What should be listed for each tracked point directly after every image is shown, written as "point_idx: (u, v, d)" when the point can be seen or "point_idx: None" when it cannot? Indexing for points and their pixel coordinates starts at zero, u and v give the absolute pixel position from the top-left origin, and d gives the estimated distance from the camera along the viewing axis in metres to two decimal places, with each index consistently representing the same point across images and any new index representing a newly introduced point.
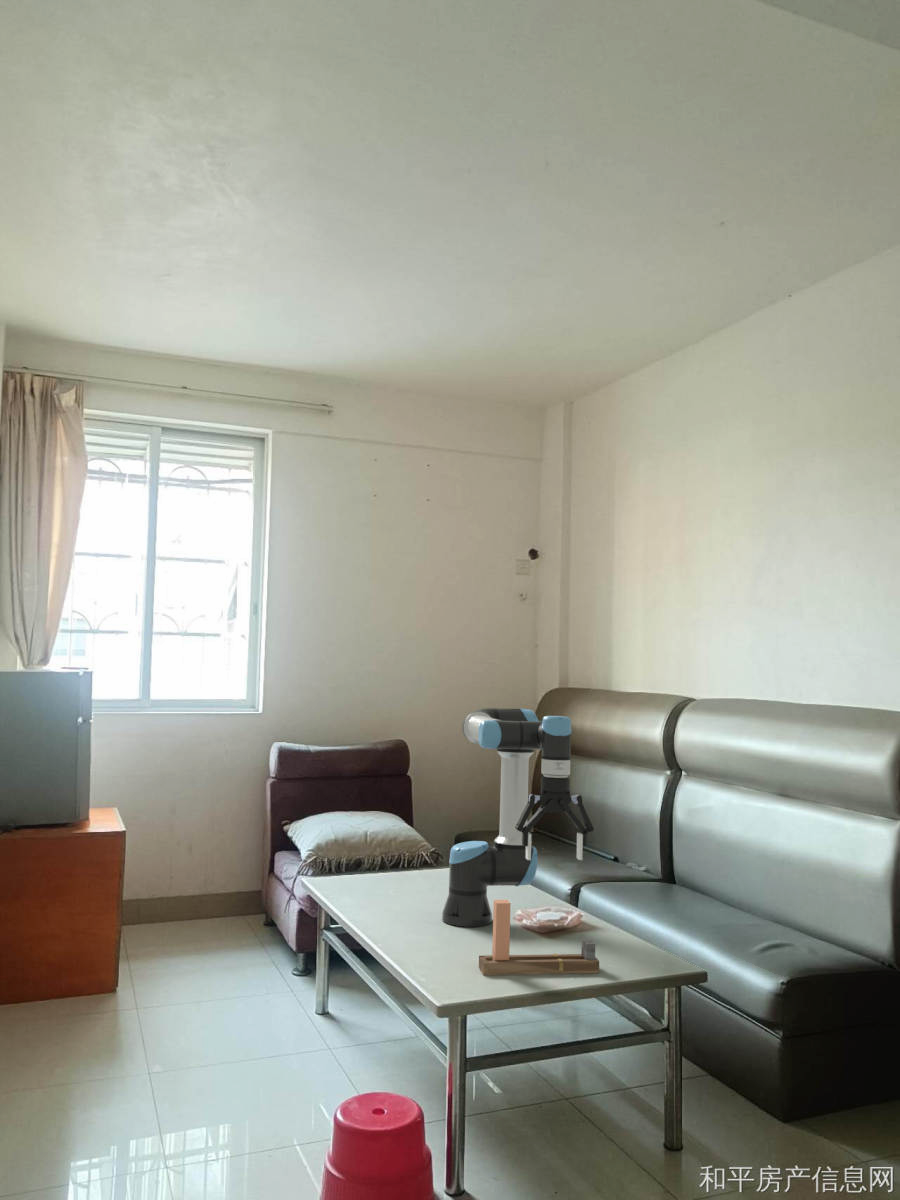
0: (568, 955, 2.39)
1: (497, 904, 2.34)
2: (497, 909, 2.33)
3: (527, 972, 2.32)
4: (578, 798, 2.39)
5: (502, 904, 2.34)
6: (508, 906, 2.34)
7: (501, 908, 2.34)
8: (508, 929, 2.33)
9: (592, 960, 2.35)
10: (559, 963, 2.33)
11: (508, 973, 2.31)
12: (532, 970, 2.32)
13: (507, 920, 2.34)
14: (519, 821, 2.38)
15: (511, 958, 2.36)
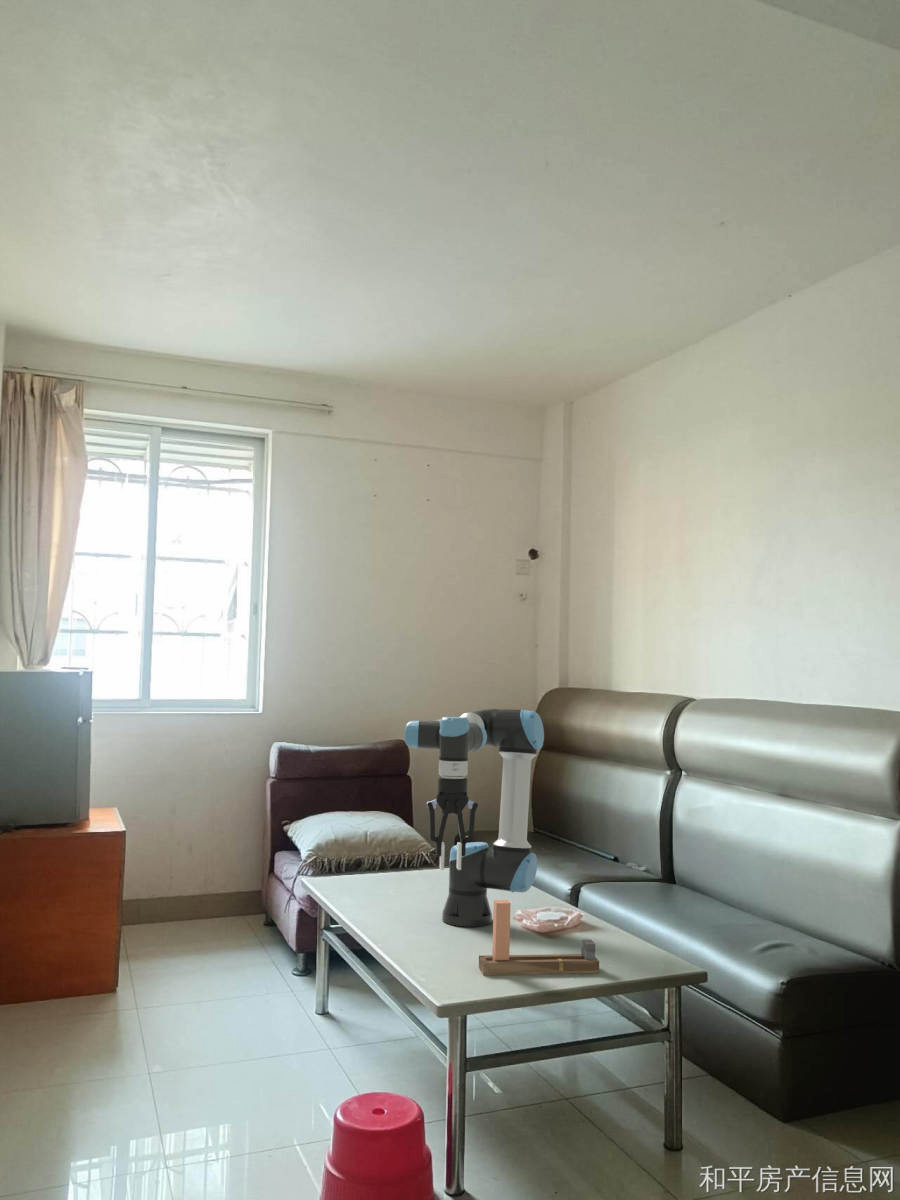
0: (568, 955, 2.39)
1: (497, 904, 2.34)
2: (497, 909, 2.33)
3: (527, 972, 2.32)
4: (474, 805, 2.39)
5: (502, 904, 2.34)
6: (508, 906, 2.34)
7: (501, 908, 2.34)
8: (508, 929, 2.33)
9: (592, 960, 2.35)
10: (559, 963, 2.33)
11: (508, 973, 2.31)
12: (532, 970, 2.32)
13: (507, 920, 2.34)
14: (429, 831, 2.38)
15: (511, 958, 2.36)
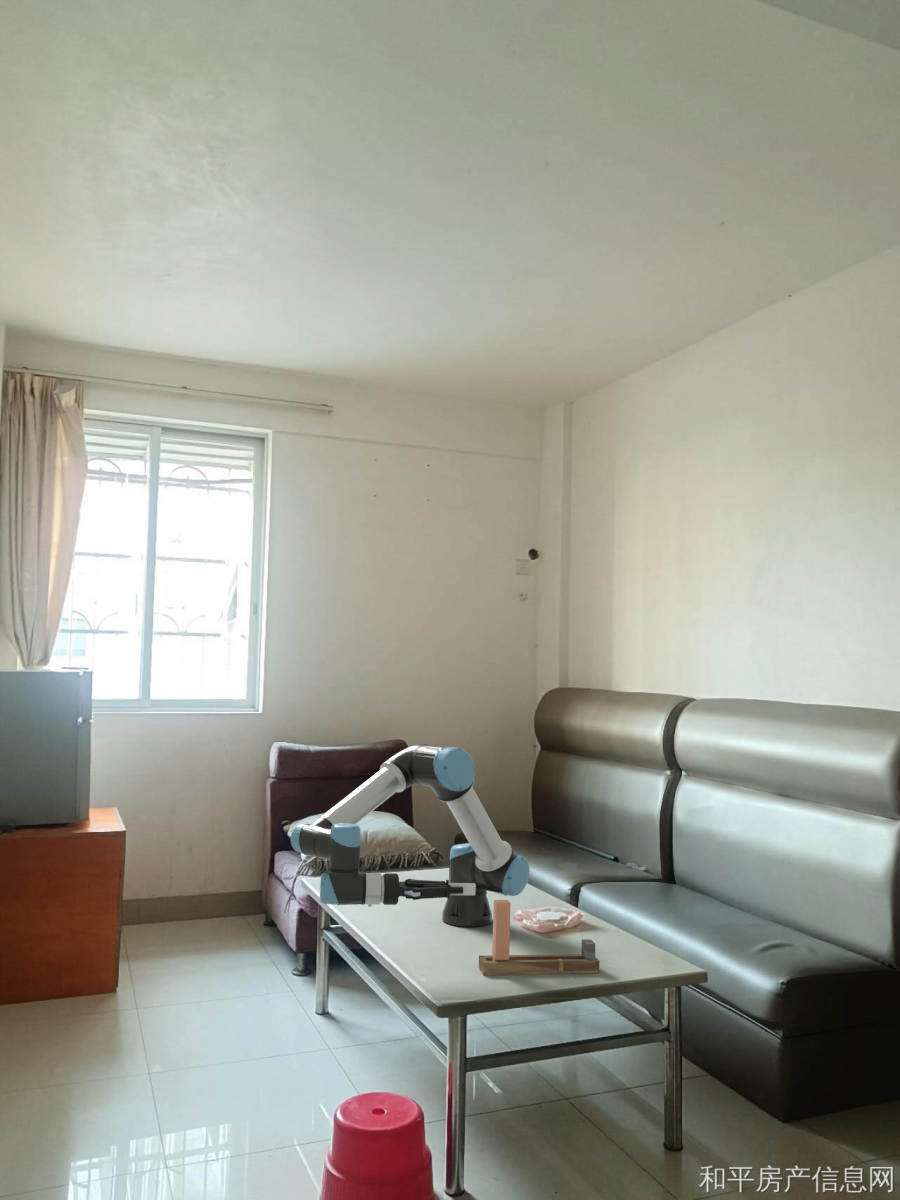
0: (568, 955, 2.39)
1: (497, 904, 2.34)
2: (497, 909, 2.33)
3: (527, 972, 2.32)
4: None
5: (502, 904, 2.34)
6: (508, 906, 2.34)
7: (501, 908, 2.34)
8: (508, 929, 2.33)
9: (592, 960, 2.35)
10: (559, 963, 2.33)
11: (508, 973, 2.31)
12: (532, 970, 2.32)
13: (507, 920, 2.34)
14: None
15: (511, 958, 2.36)
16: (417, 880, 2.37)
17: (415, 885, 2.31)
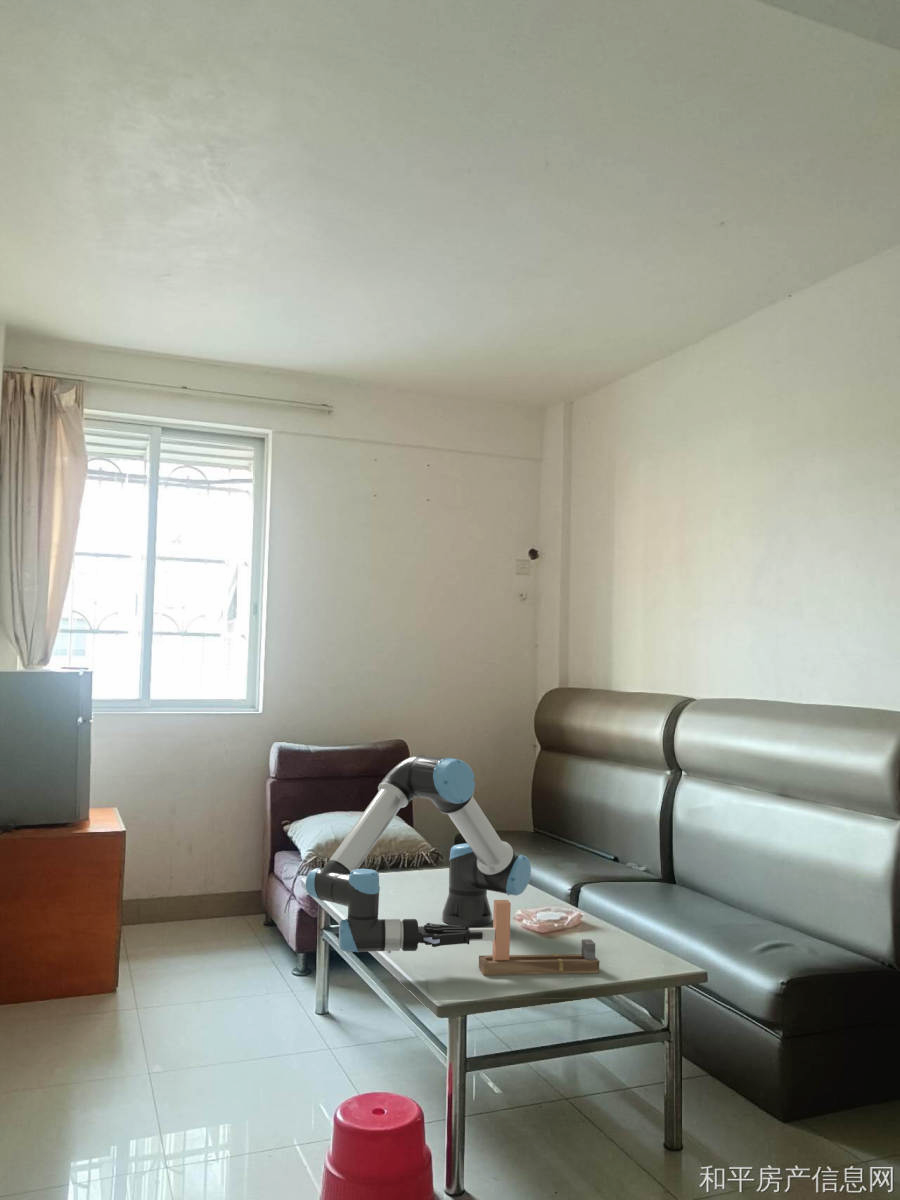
0: (568, 955, 2.39)
1: (497, 904, 2.34)
2: (497, 909, 2.33)
3: (527, 972, 2.32)
4: None
5: (502, 904, 2.34)
6: (508, 906, 2.34)
7: (501, 908, 2.34)
8: (508, 929, 2.33)
9: (592, 960, 2.35)
10: (559, 963, 2.33)
11: (508, 973, 2.31)
12: (532, 970, 2.32)
13: (507, 920, 2.34)
14: None
15: (511, 958, 2.36)
16: (436, 925, 2.36)
17: (434, 931, 2.30)
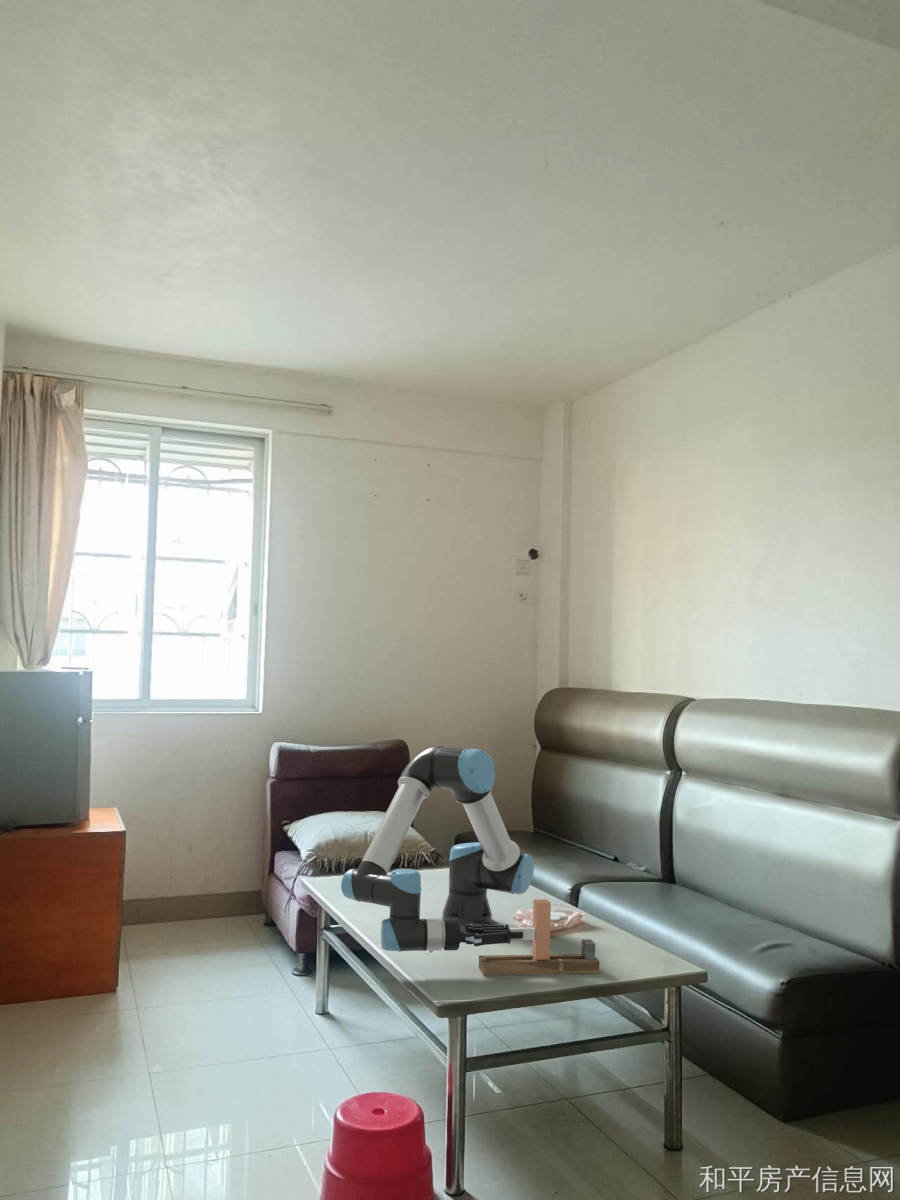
0: (568, 955, 2.39)
1: (537, 904, 2.35)
2: (537, 909, 2.35)
3: (527, 972, 2.32)
4: None
5: (542, 904, 2.35)
6: (548, 906, 2.35)
7: (541, 908, 2.35)
8: (548, 929, 2.35)
9: (592, 960, 2.35)
10: (559, 963, 2.33)
11: (508, 973, 2.31)
12: (532, 970, 2.32)
13: (547, 920, 2.35)
14: None
15: (511, 958, 2.36)
16: (476, 924, 2.38)
17: (476, 930, 2.31)
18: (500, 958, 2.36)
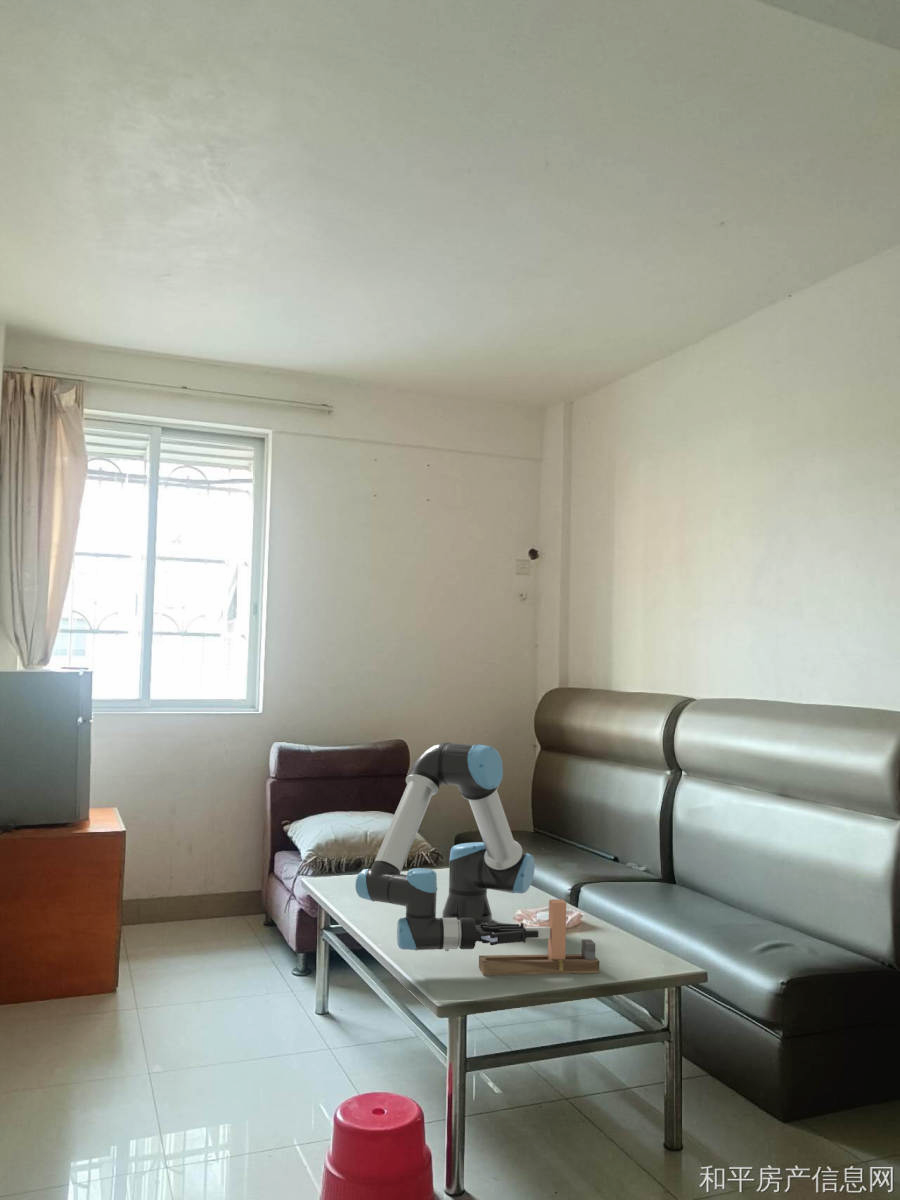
0: (568, 955, 2.39)
1: (553, 904, 2.36)
2: (553, 909, 2.36)
3: (527, 972, 2.32)
4: None
5: (558, 904, 2.36)
6: (564, 906, 2.36)
7: (557, 908, 2.36)
8: (564, 928, 2.36)
9: (592, 960, 2.35)
10: (559, 963, 2.33)
11: (508, 973, 2.31)
12: (532, 970, 2.32)
13: (563, 920, 2.36)
14: None
15: (511, 958, 2.36)
16: (491, 923, 2.39)
17: (491, 929, 2.32)
18: (500, 958, 2.36)
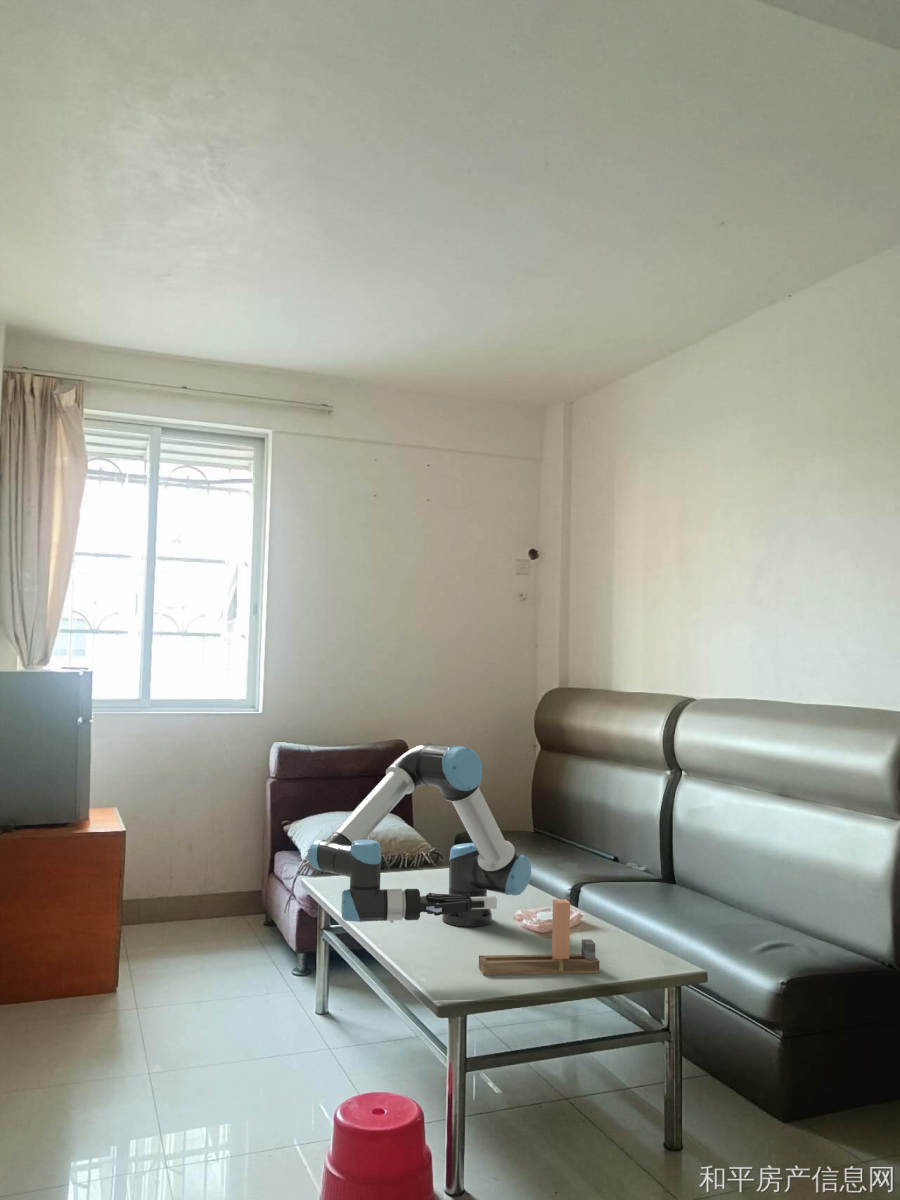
0: None
1: (557, 904, 2.36)
2: (557, 909, 2.36)
3: (527, 972, 2.32)
4: None
5: (562, 904, 2.36)
6: (568, 906, 2.36)
7: (561, 908, 2.36)
8: (568, 928, 2.36)
9: (592, 960, 2.35)
10: (559, 963, 2.33)
11: (508, 973, 2.31)
12: (532, 970, 2.32)
13: (567, 920, 2.36)
14: None
15: (511, 958, 2.36)
16: (438, 894, 2.37)
17: (436, 900, 2.31)
18: (500, 958, 2.36)
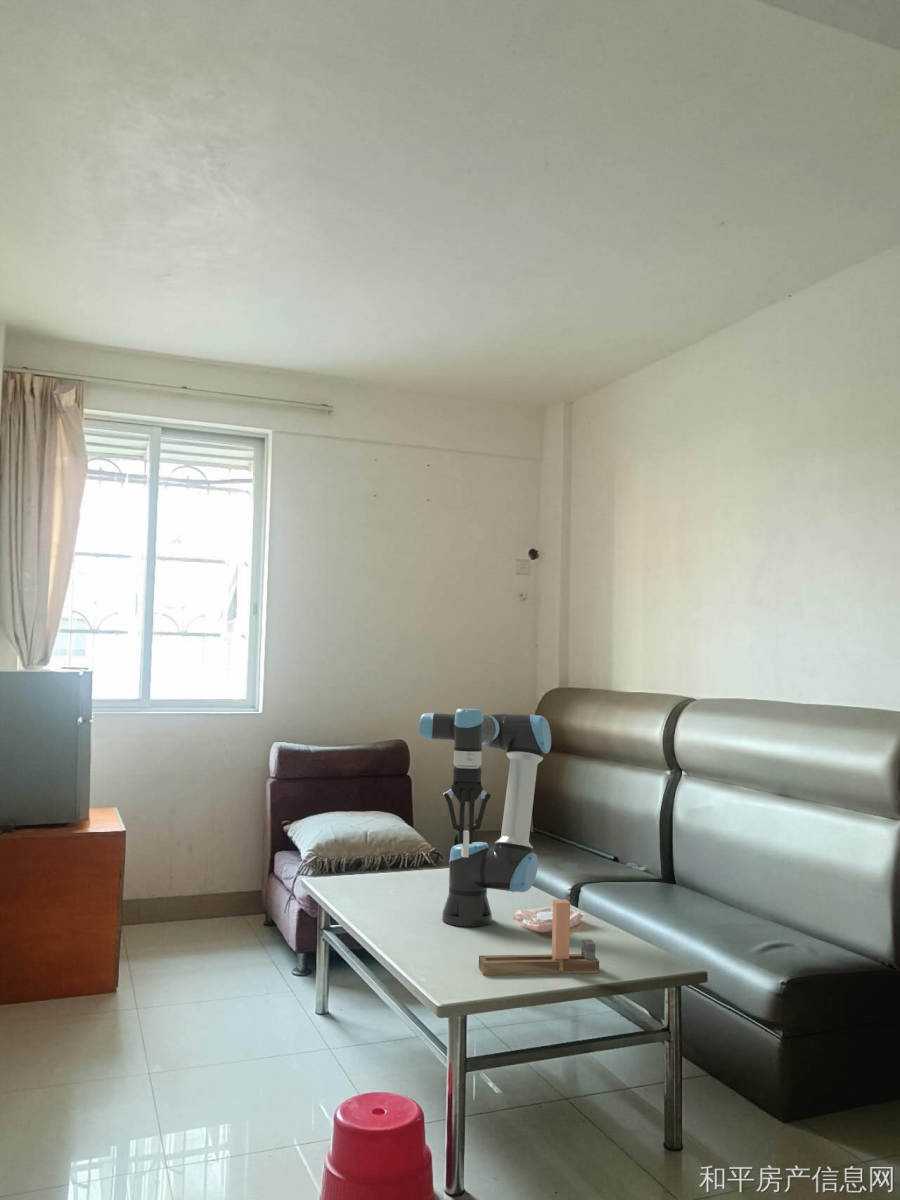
0: None
1: (557, 904, 2.36)
2: (557, 909, 2.36)
3: (527, 972, 2.32)
4: (487, 795, 2.47)
5: (562, 904, 2.36)
6: (568, 906, 2.36)
7: (561, 908, 2.36)
8: (568, 928, 2.36)
9: (592, 960, 2.35)
10: (559, 963, 2.33)
11: (508, 973, 2.31)
12: (532, 970, 2.32)
13: (567, 920, 2.36)
14: (451, 821, 2.46)
15: (511, 958, 2.36)
16: None
17: None
18: (500, 958, 2.36)
